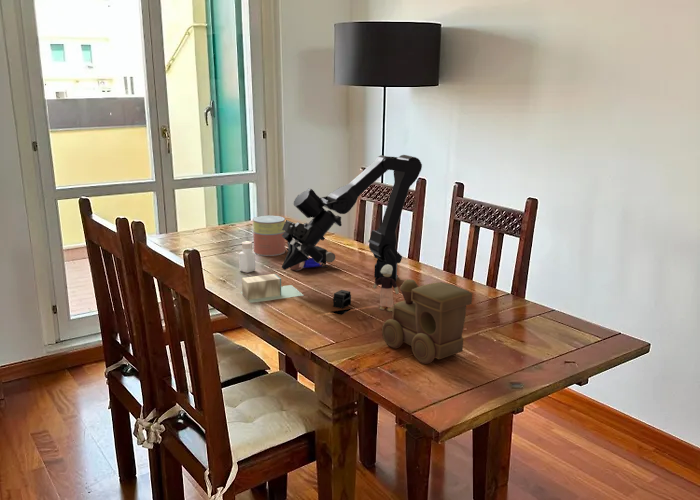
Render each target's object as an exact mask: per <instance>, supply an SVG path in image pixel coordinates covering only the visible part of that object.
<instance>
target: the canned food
mask: <svg viewBox="0 0 700 500" xmlns="http://www.w3.org/2000/svg"><path fill="white" fill-rule="evenodd" d="M285 221H286V218H285V217H283V216H280V215H272V214H271V215H260V216H255V217H253V218H252V227H253V229H252V231H253V232H252V233H253V252H254V253H255V255H258V256H263V257H264V256H265V257H273V256H280V255H283V254H285V253H286V240H285V239H284V238H283V237H282V235H283V234H284V232H285V231H283V230H282V229H283V226H284V224H285Z"/></svg>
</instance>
